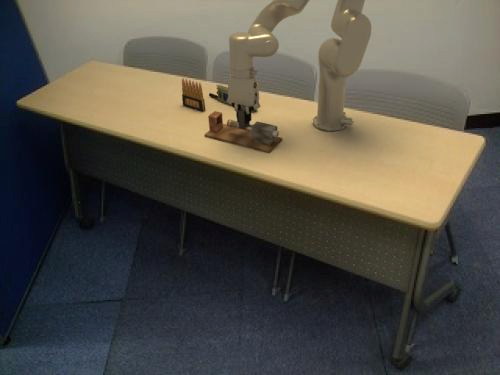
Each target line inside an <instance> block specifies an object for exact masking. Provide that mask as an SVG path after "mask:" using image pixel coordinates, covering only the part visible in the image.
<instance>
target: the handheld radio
mask: <svg viewBox="0 0 500 375" xmlns="http://www.w3.org/2000/svg"><path fill="white" fill-rule="evenodd" d="M215 86H216V94H214V93H212V92H210V93H208V96H209V97H211V98H215V99H217V102H219V103H222V104H226V105H227V106H228V105H229V106H231V107H233V106H232V105H231V104H230V103H228V102H227V99H228V86H224V85H221V84H216V85H215ZM242 106H245V105H241V107H242ZM257 110H258V109H255V110H253V111H252V112H251V114H256V113H257V112H258V111H257Z"/></svg>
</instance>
